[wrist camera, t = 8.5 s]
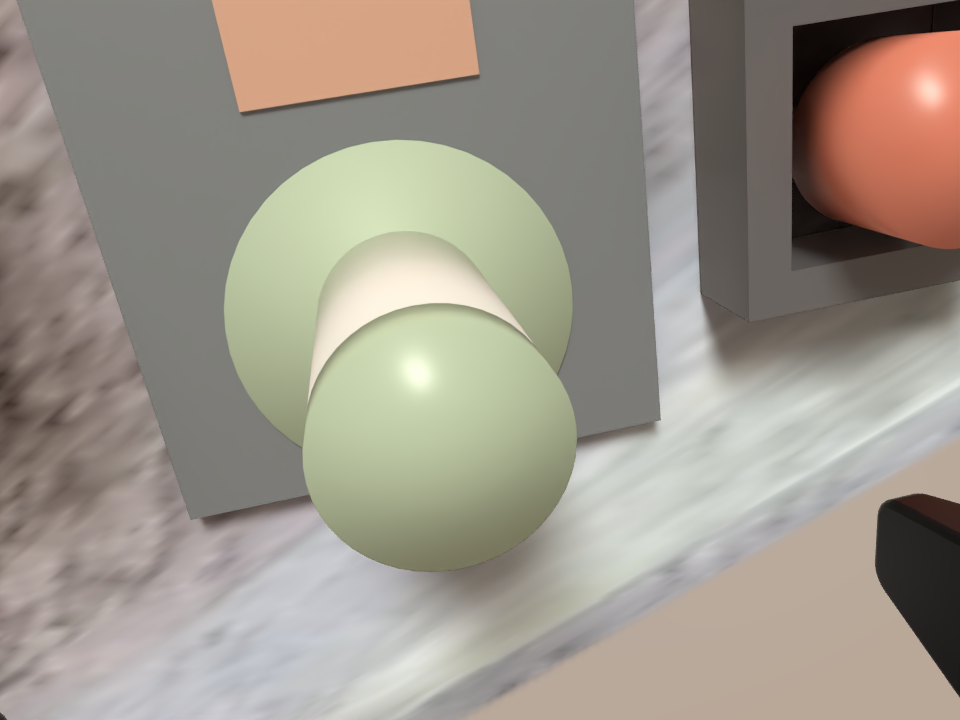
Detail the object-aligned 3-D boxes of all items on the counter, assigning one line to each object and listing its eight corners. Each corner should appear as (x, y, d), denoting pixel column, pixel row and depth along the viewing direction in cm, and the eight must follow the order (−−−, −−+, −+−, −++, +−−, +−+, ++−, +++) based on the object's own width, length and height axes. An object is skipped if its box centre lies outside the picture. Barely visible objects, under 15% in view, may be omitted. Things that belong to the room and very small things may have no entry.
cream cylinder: (477, 216, 17) (561, 297, 11) (502, 378, 18) (589, 539, 12) (298, 248, 17) (271, 354, 10) (338, 413, 18) (336, 597, 12)
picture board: (604, -280, 15) (616, -297, 14) (652, 411, 20) (662, 421, 20) (-41, -208, 14) (-60, -222, 13) (195, 507, 19) (190, 522, 18)
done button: (961, 23, 17) (1086, 11, 14) (946, 206, 18) (1056, 229, 15) (789, 51, 16) (881, 45, 13) (788, 236, 18) (871, 265, 15)
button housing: (977, -53, 18) (1073, -73, 15) (951, 244, 20) (1031, 266, 18) (689, -9, 17) (743, -23, 14) (700, 293, 19) (749, 322, 17)
